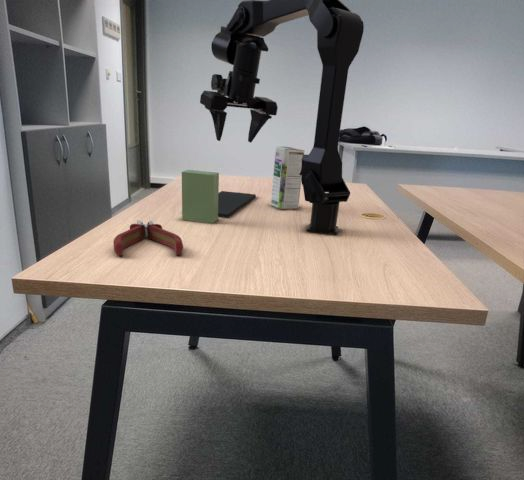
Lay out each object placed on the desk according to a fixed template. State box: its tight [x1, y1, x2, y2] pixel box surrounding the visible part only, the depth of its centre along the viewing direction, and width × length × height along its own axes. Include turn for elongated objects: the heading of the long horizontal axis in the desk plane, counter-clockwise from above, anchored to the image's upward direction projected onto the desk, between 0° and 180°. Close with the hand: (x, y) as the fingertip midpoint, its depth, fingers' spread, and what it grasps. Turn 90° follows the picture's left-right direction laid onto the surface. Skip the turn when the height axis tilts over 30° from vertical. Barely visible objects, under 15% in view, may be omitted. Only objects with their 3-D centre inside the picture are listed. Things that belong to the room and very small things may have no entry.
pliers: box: [112, 219, 184, 257], centre depth 86 cm, size 12×20×3 cm, turn 15°
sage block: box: [181, 169, 220, 224], centre depth 102 cm, size 4×7×10 cm, turn 78°
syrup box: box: [270, 146, 305, 210], centre depth 121 cm, size 6×6×14 cm
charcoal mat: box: [218, 190, 257, 219], centre depth 122 cm, size 30×10×1 cm, turn 168°
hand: (234, 141), depth 117 cm, fingers open, 9 cm apart
